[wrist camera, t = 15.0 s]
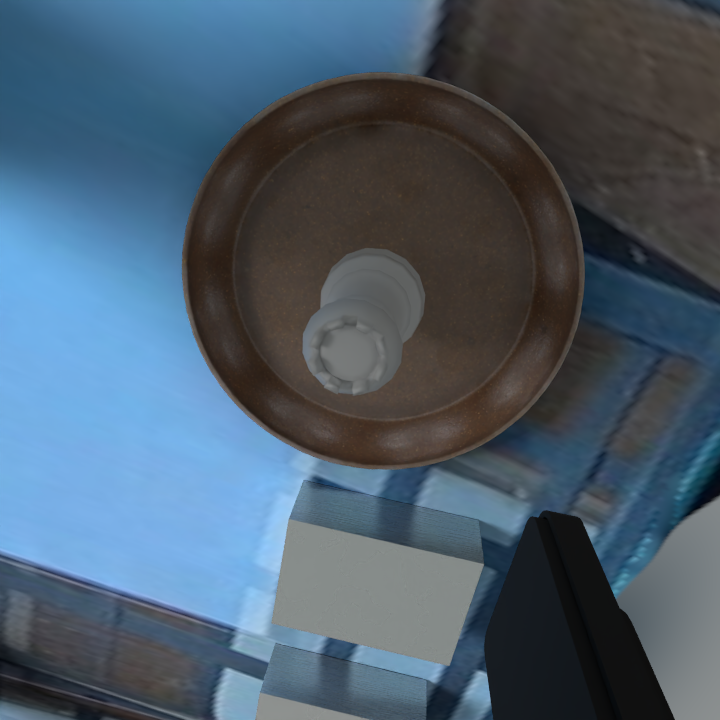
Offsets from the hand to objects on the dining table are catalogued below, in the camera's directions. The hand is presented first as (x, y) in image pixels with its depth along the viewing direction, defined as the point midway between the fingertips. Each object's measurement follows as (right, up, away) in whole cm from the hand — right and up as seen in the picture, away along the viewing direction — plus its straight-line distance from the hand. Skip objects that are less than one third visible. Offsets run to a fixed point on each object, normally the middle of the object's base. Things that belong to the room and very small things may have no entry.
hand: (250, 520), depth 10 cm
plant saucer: (+3, +7, +18) cm, 19 cm away
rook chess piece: (+3, +6, +15) cm, 16 cm away
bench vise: (+2, -14, +26) cm, 29 cm away
